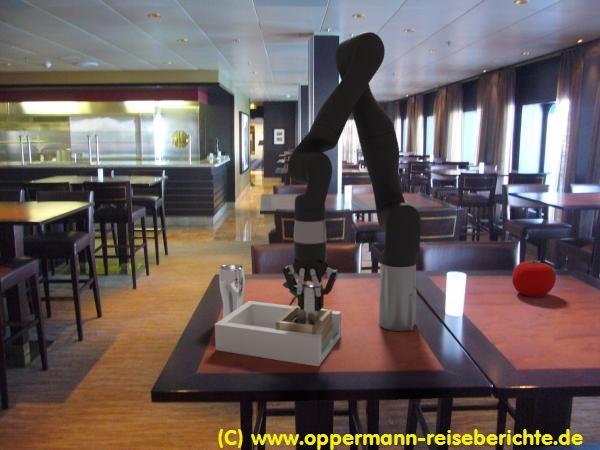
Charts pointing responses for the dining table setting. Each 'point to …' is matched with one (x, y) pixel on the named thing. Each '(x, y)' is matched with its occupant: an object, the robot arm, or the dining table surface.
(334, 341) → the bay
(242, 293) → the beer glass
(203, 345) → the dining table surface
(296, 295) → the binoculars
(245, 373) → the dining table surface
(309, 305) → the handle peg
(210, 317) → the dining table surface
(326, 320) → the box
